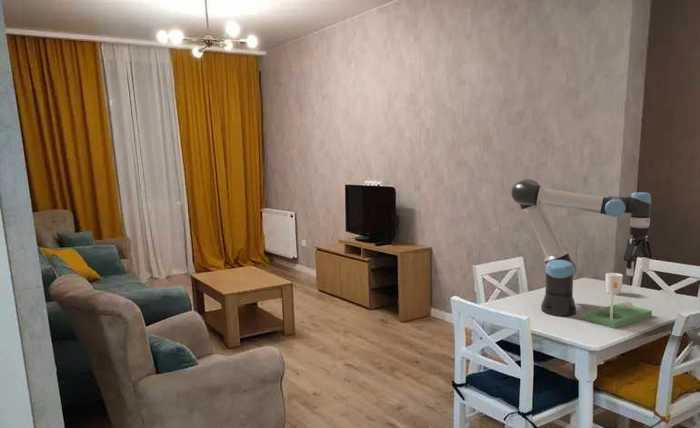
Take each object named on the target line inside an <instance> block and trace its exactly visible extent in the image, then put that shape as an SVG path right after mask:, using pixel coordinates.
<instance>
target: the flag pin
mask: <svg viewBox="0 0 700 428" xmlns="http://www.w3.org/2000/svg"><path fill="white" fill-rule="evenodd" d="M614 288H617V282H616V283H611V294H610V305H609V306H610V321H613V305H614Z"/></svg>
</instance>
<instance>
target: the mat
mask: <svg viewBox="0 0 700 428" xmlns="http://www.w3.org/2000/svg"><path fill="white" fill-rule="evenodd" d="M622 303H623V302H620V303H619V302H618V303H615V304H613V321H610V305H609V306H606V307H603V308H599V309H595V310H592V311H588V312H586V313H583V320H586V321H589V322H592V323H595V324H598V325H602V326H606V327H609V328H612V329H617V328H620V327H624V326H626V325H629V324H632V323H633V324H634V323H635V322H637V321H638V322H639V321H641V320H644V319H648V318H650V317H652V316H653V314H652V313H653V312H652V311H653V310H651V309H648V308H647V309H646V308H642V307H638V306H634V305H632V308H631V309H629V310H626V309H624V308H623V306H622Z"/></svg>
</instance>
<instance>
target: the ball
mask: <svg viewBox="0 0 700 428" xmlns="http://www.w3.org/2000/svg"><path fill="white" fill-rule="evenodd" d="M621 303H622V306H623V308H624V309H626V310H629V309H631V308H632V306H633V303H632V302H631V301H630V300H624V301H623V302H621Z"/></svg>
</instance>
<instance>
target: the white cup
mask: <svg viewBox="0 0 700 428" xmlns="http://www.w3.org/2000/svg"><path fill="white" fill-rule="evenodd" d="M623 277H624V276H623V274H622V273H617V272H606V273H605V292H606V293H607V294H609V295H611V283H616V282H617V288H614V295H615V296H618V294H619V295H621V294H622V286H623ZM614 295H613V296H614Z"/></svg>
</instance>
